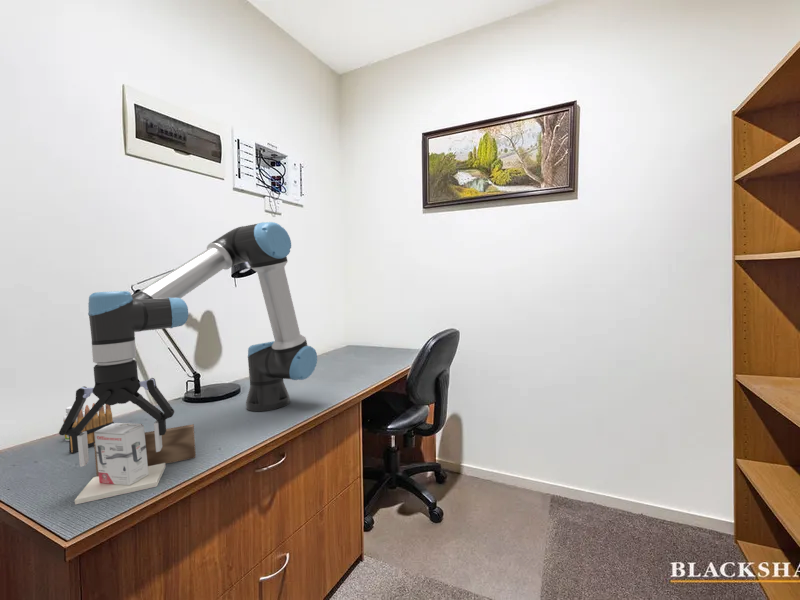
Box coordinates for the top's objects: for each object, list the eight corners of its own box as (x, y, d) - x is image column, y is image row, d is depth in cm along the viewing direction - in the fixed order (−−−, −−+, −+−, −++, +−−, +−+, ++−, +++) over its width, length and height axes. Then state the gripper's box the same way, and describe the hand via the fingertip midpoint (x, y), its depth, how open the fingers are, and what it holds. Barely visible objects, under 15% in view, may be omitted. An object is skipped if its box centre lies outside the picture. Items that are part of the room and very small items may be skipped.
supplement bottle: (85, 433, 114) (83, 402, 114) (91, 436, 111) (88, 405, 111) (62, 439, 110) (60, 407, 110) (67, 443, 107) (65, 410, 107)
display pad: (165, 466, 88) (165, 462, 88) (156, 486, 79) (156, 481, 79) (93, 481, 83) (93, 477, 83) (75, 504, 74) (74, 499, 74)
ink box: (96, 484, 79) (92, 430, 79) (119, 472, 84) (115, 421, 84) (129, 486, 78) (125, 431, 77) (150, 474, 82) (146, 422, 82)
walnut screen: (195, 454, 94) (193, 424, 94) (194, 457, 92) (192, 426, 92) (99, 473, 86) (97, 440, 86) (96, 477, 85) (94, 443, 84)
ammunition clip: (73, 453, 99) (70, 410, 99) (69, 453, 100) (65, 409, 99) (115, 438, 109) (113, 398, 109) (111, 437, 110) (108, 398, 109)
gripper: (183, 352, 89) (189, 438, 89) (50, 366, 79) (58, 462, 79) (178, 357, 82) (185, 450, 82) (31, 372, 72) (41, 478, 72)
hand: (123, 456), depth 81 cm, fingers open, 13 cm apart
